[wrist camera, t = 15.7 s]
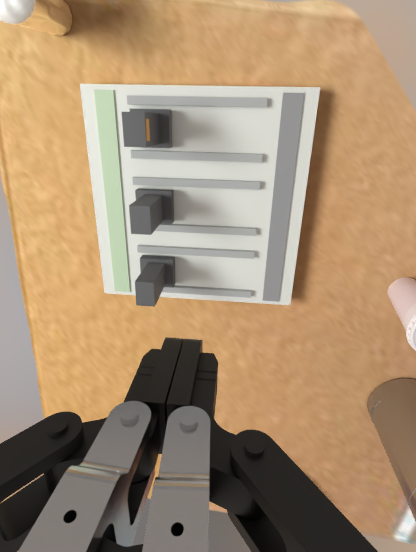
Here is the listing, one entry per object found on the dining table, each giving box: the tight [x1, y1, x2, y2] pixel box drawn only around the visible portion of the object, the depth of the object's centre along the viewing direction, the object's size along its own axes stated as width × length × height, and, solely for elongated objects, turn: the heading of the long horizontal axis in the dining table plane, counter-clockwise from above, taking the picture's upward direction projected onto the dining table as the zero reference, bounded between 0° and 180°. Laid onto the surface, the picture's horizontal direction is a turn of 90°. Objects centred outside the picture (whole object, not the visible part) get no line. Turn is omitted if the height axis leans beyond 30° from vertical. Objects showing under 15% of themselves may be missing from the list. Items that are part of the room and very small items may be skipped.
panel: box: [80, 84, 320, 306], centre depth 36 cm, size 24×24×9 cm
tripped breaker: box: [122, 109, 172, 148], centre depth 32 cm, size 4×4×7 cm
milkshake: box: [0, 0, 73, 36], centre depth 30 cm, size 5×5×10 cm
